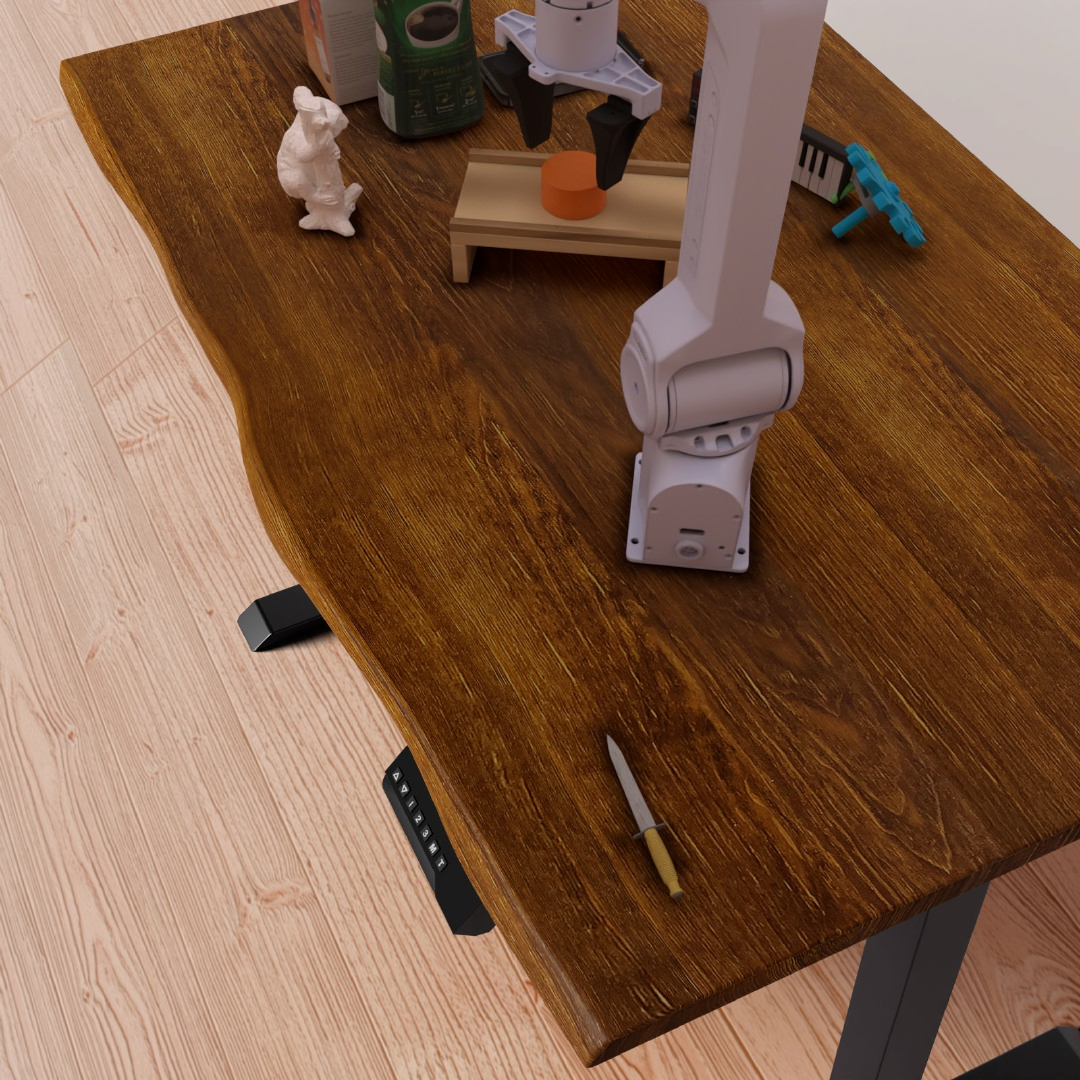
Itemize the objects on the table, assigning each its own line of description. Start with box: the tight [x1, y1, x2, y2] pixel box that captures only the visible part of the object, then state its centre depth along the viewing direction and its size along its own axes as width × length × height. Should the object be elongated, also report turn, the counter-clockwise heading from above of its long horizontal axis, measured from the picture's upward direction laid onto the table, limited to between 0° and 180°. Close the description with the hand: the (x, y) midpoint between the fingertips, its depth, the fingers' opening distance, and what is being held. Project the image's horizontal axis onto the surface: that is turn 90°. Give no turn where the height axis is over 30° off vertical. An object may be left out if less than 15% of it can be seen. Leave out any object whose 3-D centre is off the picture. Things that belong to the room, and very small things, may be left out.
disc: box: [541, 150, 607, 220], centre depth 91 cm, size 5×5×3 cm
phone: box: [478, 28, 645, 107], centre depth 112 cm, size 8×1×15 cm
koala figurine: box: [276, 85, 364, 237], centre depth 94 cm, size 8×7×12 cm
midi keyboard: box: [687, 67, 854, 208], centre depth 102 cm, size 18×1×5 cm, turn 43°
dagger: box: [606, 733, 684, 900], centre depth 65 cm, size 11×1×2 cm
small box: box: [297, 0, 378, 107], centre depth 108 cm, size 8×6×10 cm
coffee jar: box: [373, 0, 486, 140], centre depth 101 cm, size 10×8×19 cm
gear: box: [830, 141, 927, 249], centre depth 96 cm, size 11×6×10 cm
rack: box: [448, 147, 690, 289], centre depth 94 cm, size 10×18×6 cm, turn 83°
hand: (573, 162), depth 90 cm, fingers open, 7 cm apart
